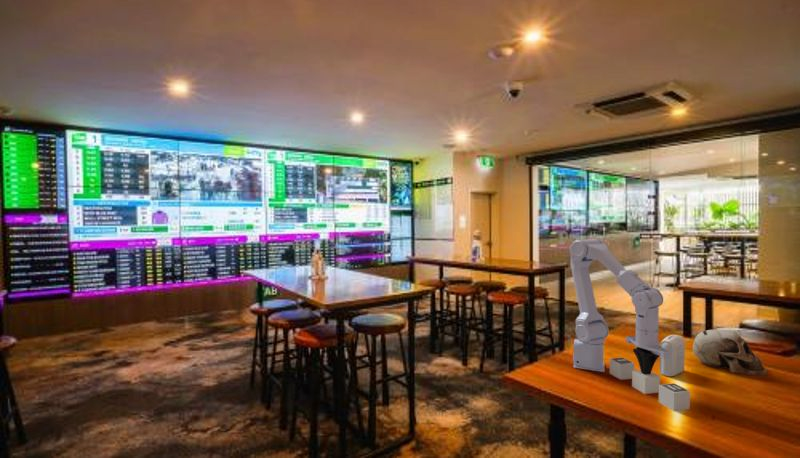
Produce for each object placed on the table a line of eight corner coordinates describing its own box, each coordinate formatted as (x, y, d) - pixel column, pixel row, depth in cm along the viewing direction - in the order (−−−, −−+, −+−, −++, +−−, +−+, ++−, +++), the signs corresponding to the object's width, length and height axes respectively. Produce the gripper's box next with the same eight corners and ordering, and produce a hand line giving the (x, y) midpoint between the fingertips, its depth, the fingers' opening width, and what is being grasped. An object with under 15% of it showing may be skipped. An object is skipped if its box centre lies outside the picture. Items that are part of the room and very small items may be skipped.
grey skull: (774, 374, 129) (770, 333, 129) (723, 381, 128) (719, 340, 128) (732, 358, 145) (728, 321, 144) (686, 364, 144) (682, 328, 144)
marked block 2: (658, 402, 112) (658, 383, 112) (673, 400, 113) (674, 382, 113) (673, 411, 107) (674, 391, 107) (689, 409, 108) (689, 390, 108)
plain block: (632, 386, 122) (632, 370, 122) (646, 385, 123) (646, 369, 123) (644, 394, 117) (645, 377, 117) (659, 392, 118) (659, 376, 118)
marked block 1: (609, 373, 132) (609, 357, 132) (622, 372, 133) (623, 356, 133) (620, 379, 127) (620, 363, 127) (634, 378, 128) (634, 362, 128)
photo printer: (671, 366, 137) (672, 331, 136) (686, 370, 133) (687, 334, 133) (657, 373, 131) (658, 336, 130) (672, 378, 128) (673, 340, 127)
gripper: (679, 335, 113) (678, 382, 113) (639, 321, 127) (639, 363, 128) (657, 337, 112) (656, 384, 112) (620, 322, 126) (619, 365, 127)
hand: (646, 373), depth 120 cm, fingers closed, pressing on plain block
